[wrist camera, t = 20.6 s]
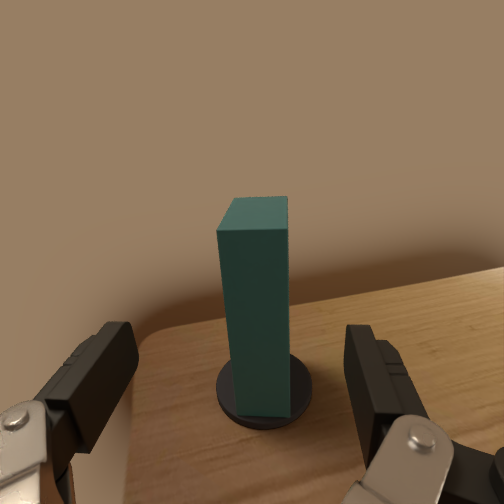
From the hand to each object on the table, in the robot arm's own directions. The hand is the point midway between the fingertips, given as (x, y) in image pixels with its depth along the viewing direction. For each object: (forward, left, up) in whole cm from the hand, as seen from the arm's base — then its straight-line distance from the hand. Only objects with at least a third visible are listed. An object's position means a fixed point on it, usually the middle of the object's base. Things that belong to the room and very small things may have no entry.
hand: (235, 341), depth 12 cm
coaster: (0, +8, -11) cm, 14 cm away
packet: (0, +8, -11) cm, 13 cm away
